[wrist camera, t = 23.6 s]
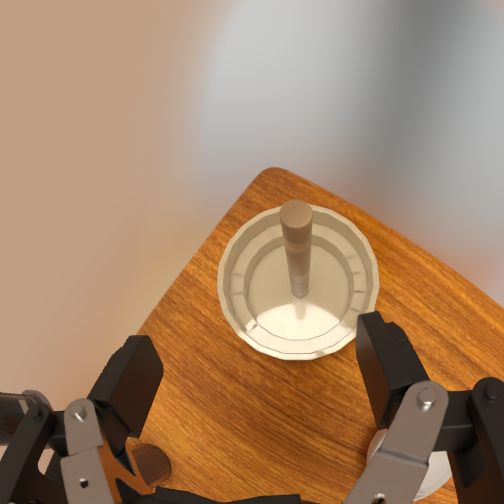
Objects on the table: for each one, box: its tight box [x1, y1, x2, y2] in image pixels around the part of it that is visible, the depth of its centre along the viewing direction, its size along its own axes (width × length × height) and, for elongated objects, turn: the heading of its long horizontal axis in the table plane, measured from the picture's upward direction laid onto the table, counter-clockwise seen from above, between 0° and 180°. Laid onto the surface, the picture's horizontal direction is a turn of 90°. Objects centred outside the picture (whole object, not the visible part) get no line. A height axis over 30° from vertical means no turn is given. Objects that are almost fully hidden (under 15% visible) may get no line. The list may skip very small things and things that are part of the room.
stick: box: [279, 199, 313, 299], centre depth 23 cm, size 2×2×17 cm
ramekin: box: [366, 428, 452, 502], centre depth 19 cm, size 11×11×5 cm
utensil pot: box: [130, 444, 171, 490], centre depth 22 cm, size 6×6×7 cm
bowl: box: [217, 204, 380, 360], centre depth 28 cm, size 15×15×6 cm
